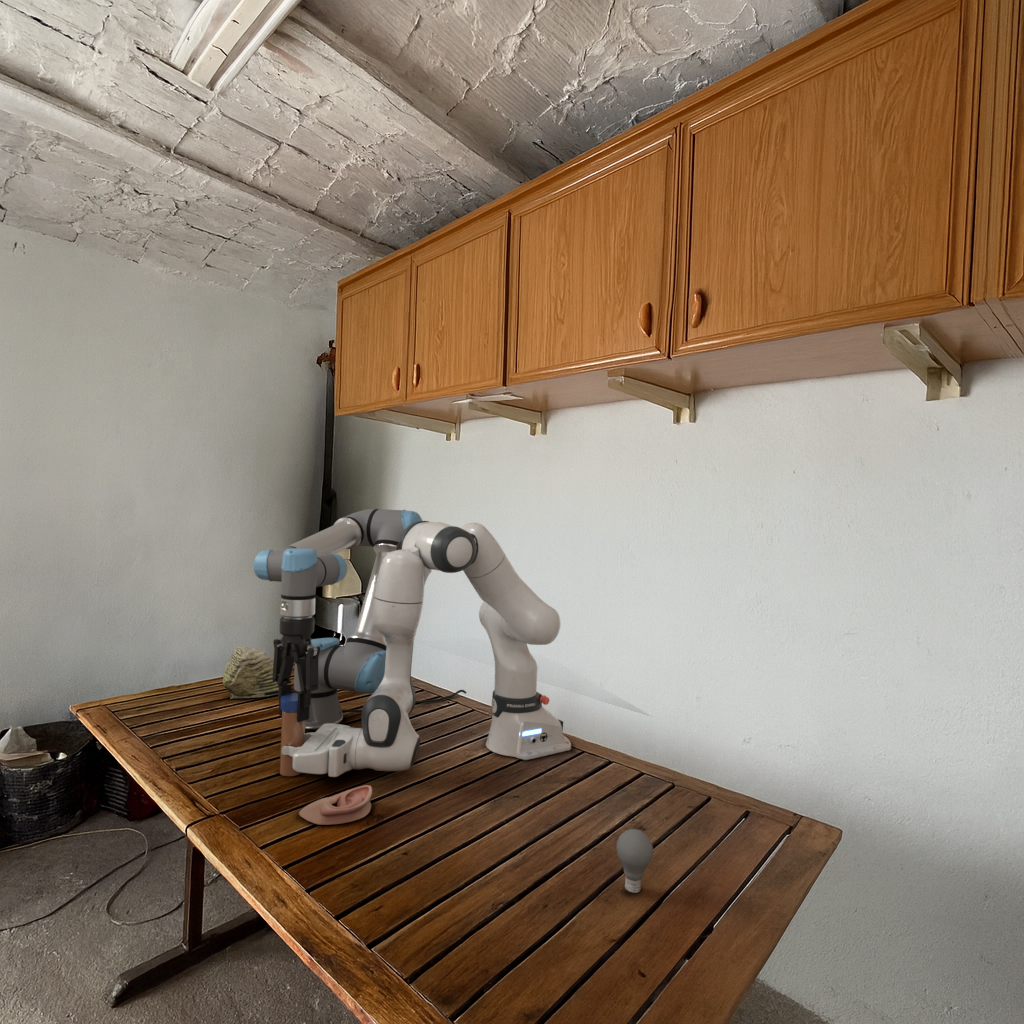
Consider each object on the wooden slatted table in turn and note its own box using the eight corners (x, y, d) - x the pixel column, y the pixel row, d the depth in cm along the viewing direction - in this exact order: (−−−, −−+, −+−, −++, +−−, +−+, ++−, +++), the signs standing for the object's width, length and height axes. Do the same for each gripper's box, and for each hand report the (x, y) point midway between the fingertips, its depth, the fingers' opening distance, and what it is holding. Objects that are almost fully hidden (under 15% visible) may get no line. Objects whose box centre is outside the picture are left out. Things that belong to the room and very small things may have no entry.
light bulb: (610, 879, 108) (613, 822, 108) (644, 879, 109) (647, 822, 109) (619, 902, 102) (622, 840, 102) (655, 901, 103) (658, 840, 103)
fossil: (218, 695, 195) (220, 647, 195) (278, 685, 208) (279, 640, 207) (228, 703, 189) (230, 653, 188) (289, 692, 201) (290, 645, 201)
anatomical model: (291, 800, 123) (320, 775, 134) (290, 820, 123) (320, 794, 134) (354, 810, 120) (379, 784, 132) (353, 830, 121) (378, 803, 132)
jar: (275, 771, 145) (277, 699, 145) (295, 764, 149) (298, 694, 149) (287, 778, 142) (289, 704, 141) (307, 771, 145) (310, 700, 145)
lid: (282, 713, 141) (282, 702, 141) (278, 705, 146) (279, 694, 146) (309, 710, 144) (310, 699, 144) (305, 702, 149) (305, 691, 149)
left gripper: (257, 612, 147) (254, 712, 147) (311, 624, 136) (307, 731, 137) (285, 608, 153) (281, 704, 153) (338, 619, 143) (334, 722, 143)
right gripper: (361, 718, 155) (306, 715, 155) (334, 751, 134) (270, 747, 135) (360, 744, 155) (305, 740, 156) (332, 780, 134) (269, 776, 135)
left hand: (293, 716), depth 145 cm, fingers closed on lid, 6 cm apart
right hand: (288, 743), depth 145 cm, fingers closed on jar, 5 cm apart
